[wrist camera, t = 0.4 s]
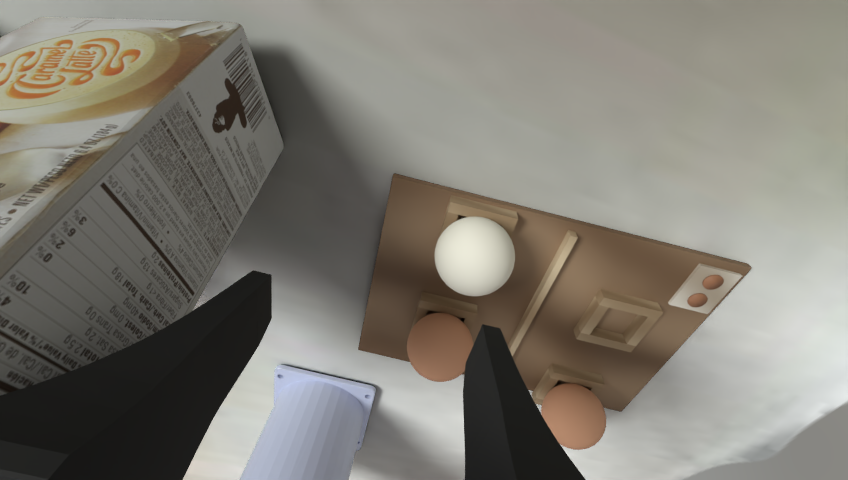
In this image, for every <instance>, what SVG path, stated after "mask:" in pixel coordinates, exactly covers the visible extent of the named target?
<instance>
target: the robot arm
mask: <svg viewBox="0 0 848 480" xmlns="http://www.w3.org/2000/svg"><path fill="white" fill-rule="evenodd" d="M271 318H272V316H271V275H270V274H266V273H261V272H257V271H252V272H250V273H249V274H247V275H246V276H244V277H243V278H241V279H240V280H238V281H237V282H235V283H234V284H233V285H231V286H230V287H228V288H227V289H225V290H224V291H222V292H221V293H219V294H218V295H217V296H215V297H213V298H212V299H210V300H209V301H207V302H206V303H204V304H203V305H201V306H200V307H198V308H197V309H195V310H193V311H192V312H190V313H188V314H187V315H185V316H183V317H182V318H180V319H178V320H177V321H175V322H173V323H172V324H170V325H168V326H166V327H165V328H163V329H161V330H159V331H157V332H156V333H154V334H152V335H150V336H148V337H146V338H144V339H142V340H140V341H138V342H136V343H134V344H132V345H130V346H128V347H126V348H124V349H122V350H119V351H117V352H115V353H113V354H110V355H108V356H106V357H103V358H101V359H99V360H97V361H94V362H92V363H90V364H87V365H85V366H83V367H80V368H77V369H75V370H72V371H70V372H67V373H65V374H62V375H59V376H57V377H54V378H51V379H48V380H46V381H43V382H40V383H37V384H34V385H31V386H28V387H26V388H22V389H19V390H16V391H13V392H10V393H7V394H4V395H0V480H183V477H184V475H185V473H186V471H187V469H188V467H189V465H190V463H191V461H192V459H193V457H194V455H195V453H196V451H197V449H198V447H199V445H200V443H201V441H202V439H203V437H204V435H205V433H206V431H207V429H208V427H209V425H210V423H211V421H212V420H213V418H214V416H215V414H216V413H217V411H218V409H219V407H220V406H221V404H222V402H223V401H224V399H225V398H226V396H227V395H228V393H229V392H230V390H231V388H232V387H233V385H234V384H235V382H236V381H237V379H238V377H239V376H240V374H241V373H242V371H243V370H244V368H245V366H246V365H247V363H248V362H249V360H250V359H251V357H252V355H253V354H254V352H255V351H256V349H257V347H258V346H259V344H260V342H261V340H262V338H263V336H264V334H265V331H266V329H267V327H268V325H269V323H270V321H271ZM375 393H376V389H375V387H373V386H371V385H367V384H363V383H359V382H354V381H350V380H346V379H341V378H337V377H333V376H328V375H324V374H320V373H315V372H311V371H307V370H303V369H298V368H294V367H290V366H285V365H278V366H277V367H276V369H275V379H274V407H273V409H272V411H271V413H270V415H269V418H268V420H267V422H266V424H265V426H264V428H263V430H262V433H261V435H260V437H259V439H258V441H257V443H256V445H255V448H254V450H253V452H252V454H251V456H250V458H249V460H248V463H247V465H246V467H245V469H244V471H243V473H242V475H241V477H240V480H349V476H350V472H351V468H352V464H353V460H354V456H355V452H356V451H357V450H360V449H361V446H362V442H363V438H364V434H365V431H366V427H367V423H368V419H369V415H370V412H371V408H372V404H373V400H374V396H375ZM463 403H464V434H465V480H585V478H584V477H583V476H582V474H581V473H580V472H579V470H578V469H577V468H576V466H575V465H574V464H573V462H572V461H571V460H570V458H569V457H568V456H567V454H566V453H565V451H564V450H563V448H562V447H561V445H560V444H559V442H558V441H557V439H556V438H555V436H554V435H553V433H552V431H551V430H550V428H549V427H548V425H547V423H546V422H545V420H544V418H543V417H542V415H541V413H540V411H539V409H538V408H537V406H536V404H535V402H534V400H533V399H532V397H531V395H530V393H529V391H528V389H527V387H526V385H525V383H524V381H523V379H522V377H521V375H520V372H519V370H518V368H517V366H516V364H515V362H514V359H513V357H512V355H511V352H510V350H509V348H508V345H507V343H506V340H505V338H504V335H503V333H502V331H501V329H500V328H497V327H493V326H489V325H484V324H482V326H481V329H480V331H479V333H478V335H477V338H476V340H475V342H474V345H473V347H472V349H471V352H470V354H469V356H468V359H467V361H466V365H465V376H464V388H463Z"/></svg>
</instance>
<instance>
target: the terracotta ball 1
mask: <svg viewBox="0 0 848 480" xmlns="http://www.w3.org/2000/svg"><path fill="white" fill-rule="evenodd" d="M472 347H473V340H472V336H471V334H470V331H469V329H468V328H467V327H466V325H465V324H464V323H463V322H462V321H461V320H460V319H458V318H457V317H455V316H453V315H450V314H447V313H433V314H430V315H427V316H425V317H423V318H422V319H420V320H419V321H418V322H417V323H416V324H415V325H414V326H413V328H412V330H411V331H410V334H409V337H408V341H407V353H408V357H409V360H410V362H411V364H412V366H413V367H414V369H415V370H416V371H417V372H418V373H419V374H420V375H421V376H423V377H425V378H427V379H429V380H432V381H437V382H444V381H449V380H452V379H455V378H456V377H458V376H459V375H461V374H462V373H463V372H464V371H465V365H466V361H467V359H468V356H469V354H470V352H471V349H472Z"/></svg>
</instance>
